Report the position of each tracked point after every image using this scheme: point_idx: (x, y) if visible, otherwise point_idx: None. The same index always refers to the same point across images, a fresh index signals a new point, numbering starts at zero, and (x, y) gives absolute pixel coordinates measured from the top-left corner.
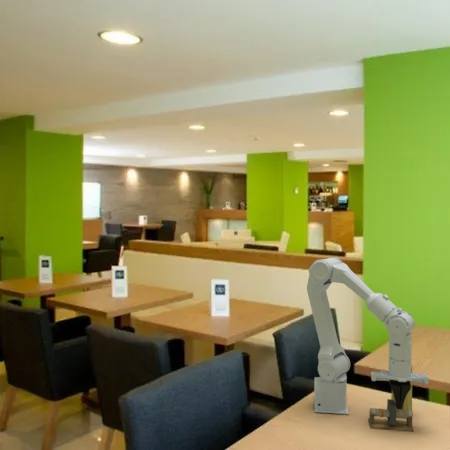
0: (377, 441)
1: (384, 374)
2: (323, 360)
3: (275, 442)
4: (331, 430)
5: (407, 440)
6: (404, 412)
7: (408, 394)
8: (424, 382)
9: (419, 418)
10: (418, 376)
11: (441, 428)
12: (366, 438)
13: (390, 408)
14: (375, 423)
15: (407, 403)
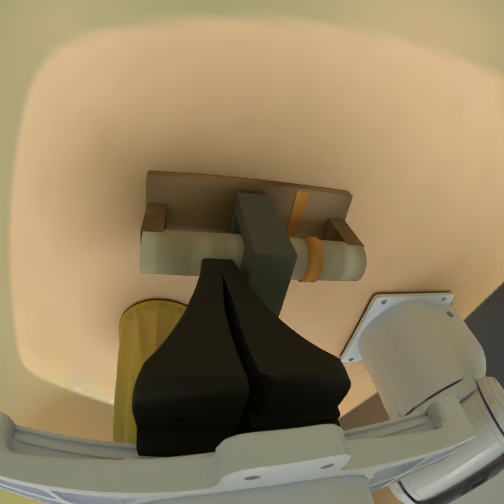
0: (369, 68)
1: (387, 471)
2: None
3: None
4: (475, 178)
5: (215, 69)
6: (183, 250)
7: (133, 388)
8: (5, 426)
9: (97, 296)
10: (50, 493)
11: (23, 220)
12: (402, 101)
13: (290, 244)
14: (319, 222)
15: (140, 349)
